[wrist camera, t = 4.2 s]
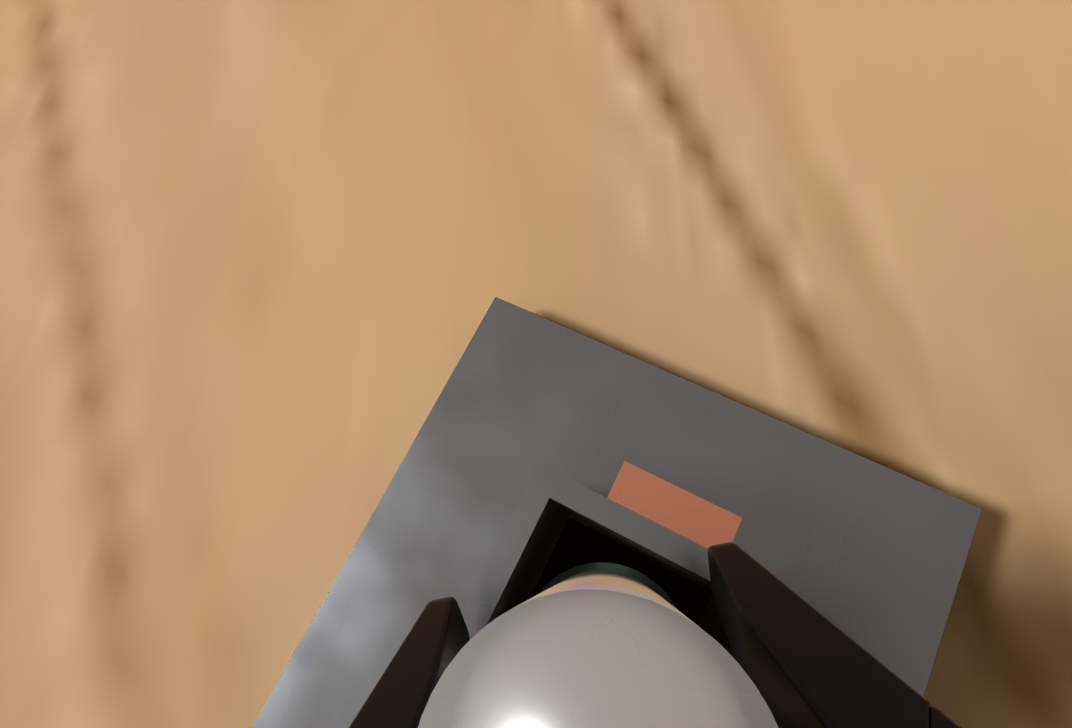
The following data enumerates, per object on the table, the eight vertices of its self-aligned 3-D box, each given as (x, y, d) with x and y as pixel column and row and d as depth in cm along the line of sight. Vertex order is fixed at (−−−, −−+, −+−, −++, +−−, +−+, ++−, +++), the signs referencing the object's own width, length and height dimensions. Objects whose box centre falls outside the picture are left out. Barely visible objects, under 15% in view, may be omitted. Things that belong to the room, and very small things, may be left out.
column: (691, 600, 16) (886, 703, 5) (637, 729, 15) (717, 1216, 4) (575, 538, 17) (509, 503, 6) (518, 658, 16) (310, 892, 5)
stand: (948, 513, 16) (1135, 489, 10) (758, 1099, 13) (876, 1529, 7) (503, 316, 19) (460, 216, 14) (267, 740, 16) (83, 839, 11)
